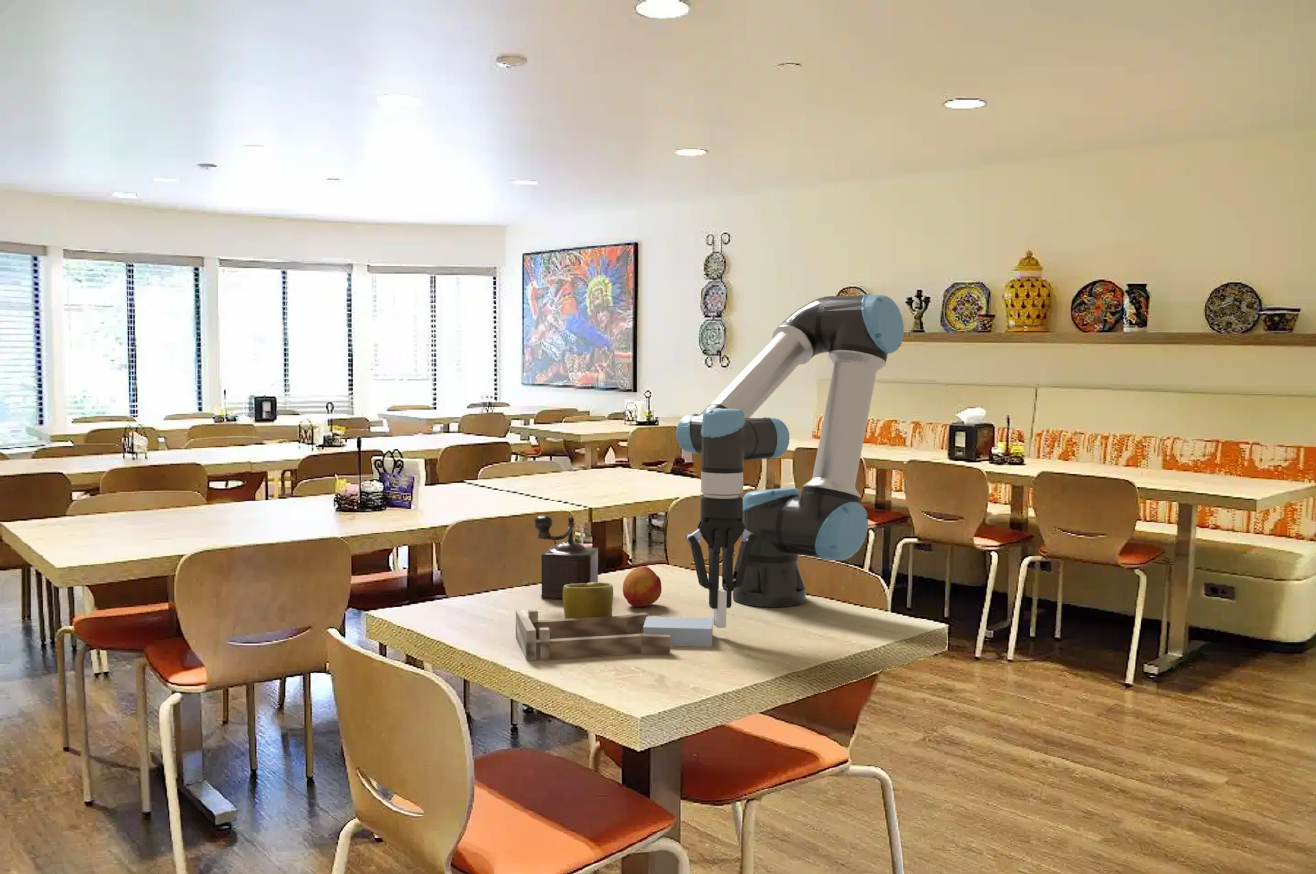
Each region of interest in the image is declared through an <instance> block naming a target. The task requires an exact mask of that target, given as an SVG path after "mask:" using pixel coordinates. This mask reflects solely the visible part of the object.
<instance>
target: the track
mask: <svg viewBox="0 0 1316 874" xmlns="http://www.w3.org/2000/svg"><path fill="white" fill-rule="evenodd" d="M646 617H649V613H647V612H639V613H631V614H624V615H612V616H608V617H589V618H570V619H565V618H557V619H555V618H554V619H539V609H537V608H536V609H535V608H533V609H528V612H527V613H526V611H525V610H524V609H521V610H520V609H519V610H518V609H516V610H515V640H516V641H517V643H518V645H519V647H520V649H521V651H522V653H523V656H524V658H525V660H526V661H540V660H541V661H544V660H559V659H575V658H589V657H590V658H591V657H607V656H608V657H609V656H624V655H638V654H639V655H640V654H643V655H645V654H646V655H670V653H671V646H670V635H660V634H643V633H638V632H639V631H640V632H643V626H644V623H645V620H646ZM631 633H633V634H631ZM634 633H635V634H634Z"/></svg>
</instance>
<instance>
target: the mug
mask: <svg viewBox="0 0 1316 874" xmlns="http://www.w3.org/2000/svg"><path fill="white" fill-rule="evenodd" d="M613 602H614V587H613V584H612V583H609V582H600V581H598V583H595V582H592V583H586V584H585V583H581V584H567V585H564V587H563V600H562V603H563V605H562V606H563V612H564V619H570V618H589V617H608V616H613Z"/></svg>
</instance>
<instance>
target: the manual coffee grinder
mask: <svg viewBox="0 0 1316 874" xmlns="http://www.w3.org/2000/svg"><path fill="white" fill-rule="evenodd" d="M567 521H568V523H567V528H566V531H565V532H564V533H563V534H560V535H552V534H551V532H550V529H551V527H552V525H553V522H554V521H553V519H552V517H551V516H549V515H547V514H546V515H545V514H541V515H538V516H536V517H535V518H533V525H534V528H535V529H537V531H538V532H537V538H538V539H542V540H551V541H553V543H554V546H553V545H552V546H549V547H548V548H547V549H546V551H544V552H543V553H542V554H541V594H540V598H542V599H548V600H559V601H560V600H562V601H563V587H564V585H567V584H581V583H585V584H586V583H592V582H595V583H598V582H599V548H598V547H585V545H584V544H581V543H579V542H577V541H574V534H573V533H574V528H575V523H574V522H575V518H574V517H573V516H569V517H568V519H567ZM567 537H568V539H567V540H565V541H561V542H559V543H557V541H560V540H564V539H565V538H567Z"/></svg>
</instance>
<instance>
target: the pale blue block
mask: <svg viewBox="0 0 1316 874" xmlns="http://www.w3.org/2000/svg"><path fill="white" fill-rule="evenodd" d="M713 626H714V617H686V616H685V617H684V616H683V617H682V616H648V617H646V620H645V623H644V626H643V631H642V634H660V635H670V647H671V646H673V647H674V646H675V647H676V646H677V647H679V646H680V647H713V628H714V627H713Z"/></svg>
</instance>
